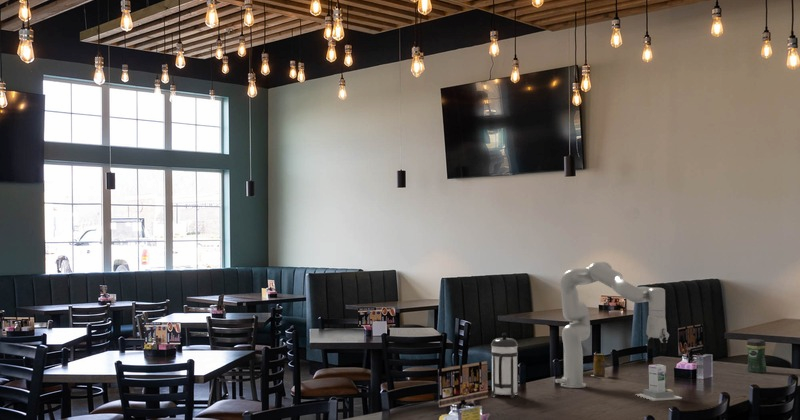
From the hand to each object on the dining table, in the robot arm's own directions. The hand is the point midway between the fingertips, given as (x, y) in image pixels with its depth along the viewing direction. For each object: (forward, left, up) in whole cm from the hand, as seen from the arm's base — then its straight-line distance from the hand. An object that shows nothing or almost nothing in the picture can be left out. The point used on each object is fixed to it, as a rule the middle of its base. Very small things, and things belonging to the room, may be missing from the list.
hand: (657, 349), depth 389 cm
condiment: (+5, +60, -23) cm, 65 cm away
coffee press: (-69, +22, -23) cm, 76 cm away
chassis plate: (0, -1, -22) cm, 22 cm away
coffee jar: (+98, +47, -23) cm, 111 cm away
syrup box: (0, 0, -22) cm, 22 cm away
